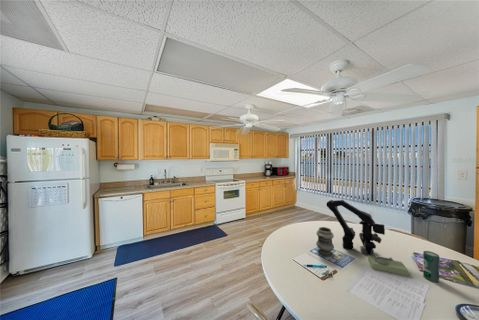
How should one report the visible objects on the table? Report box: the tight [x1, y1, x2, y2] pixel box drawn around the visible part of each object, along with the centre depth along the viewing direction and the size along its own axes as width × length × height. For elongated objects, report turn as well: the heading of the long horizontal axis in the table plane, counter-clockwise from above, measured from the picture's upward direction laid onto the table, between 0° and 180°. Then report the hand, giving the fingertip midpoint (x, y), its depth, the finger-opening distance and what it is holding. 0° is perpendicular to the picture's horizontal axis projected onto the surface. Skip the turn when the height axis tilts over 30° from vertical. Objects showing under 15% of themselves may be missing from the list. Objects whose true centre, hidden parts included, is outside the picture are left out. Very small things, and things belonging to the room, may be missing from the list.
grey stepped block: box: [359, 245, 375, 256], centre depth 129 cm, size 7×5×4 cm
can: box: [422, 250, 440, 283], centre depth 101 cm, size 6×6×15 cm
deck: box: [367, 254, 409, 277], centre depth 114 cm, size 18×14×4 cm
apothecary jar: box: [316, 226, 335, 257], centre depth 130 cm, size 12×12×18 cm
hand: (366, 251), depth 128 cm, fingers open, 9 cm apart
